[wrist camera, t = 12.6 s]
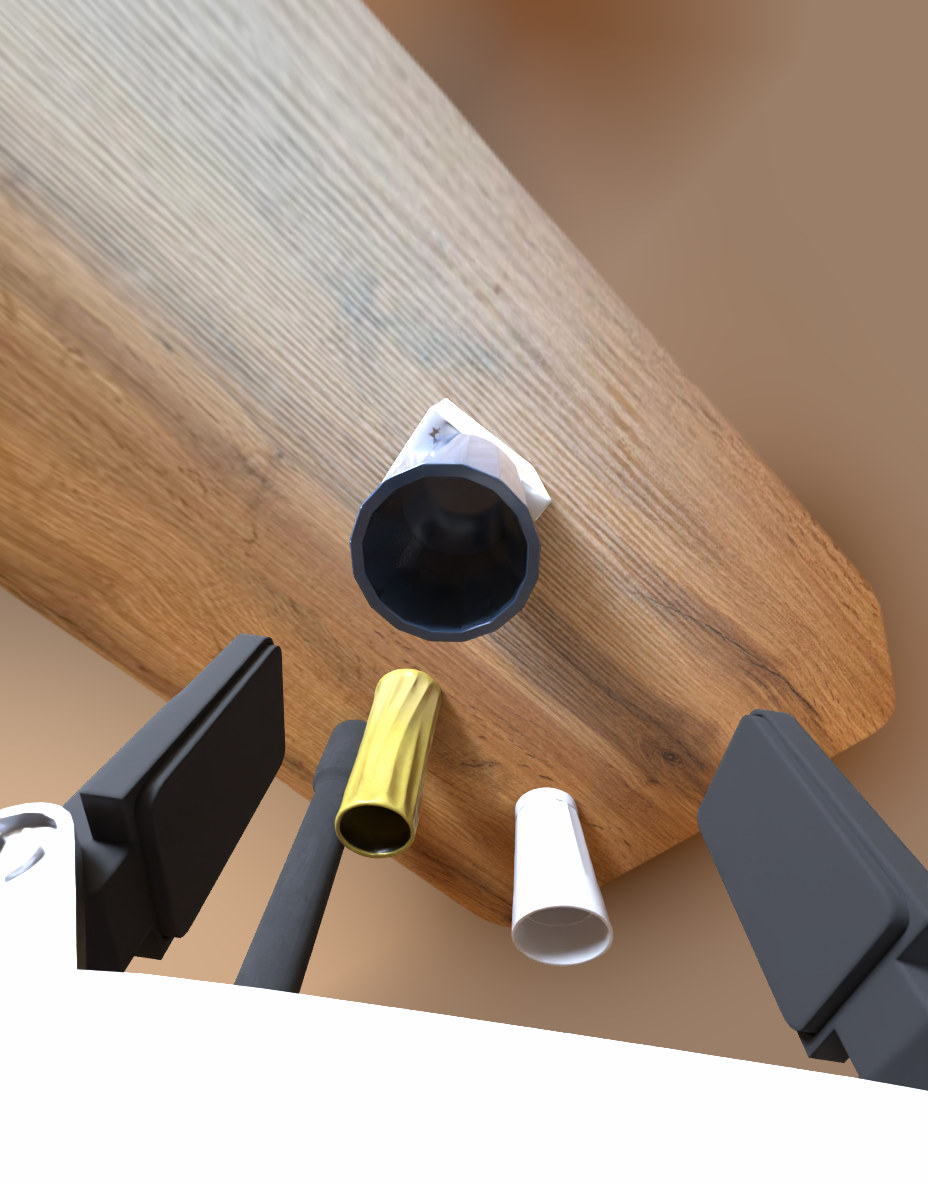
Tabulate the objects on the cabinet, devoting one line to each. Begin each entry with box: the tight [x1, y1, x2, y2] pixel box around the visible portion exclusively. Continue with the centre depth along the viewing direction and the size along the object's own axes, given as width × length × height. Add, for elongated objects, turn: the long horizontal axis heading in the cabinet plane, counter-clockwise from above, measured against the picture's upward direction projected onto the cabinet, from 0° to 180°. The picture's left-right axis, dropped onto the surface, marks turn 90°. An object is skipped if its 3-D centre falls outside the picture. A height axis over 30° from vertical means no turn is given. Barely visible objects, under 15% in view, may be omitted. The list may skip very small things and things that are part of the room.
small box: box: [383, 399, 551, 522], centre depth 30 cm, size 8×6×10 cm
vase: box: [335, 669, 442, 858], centre depth 37 cm, size 6×6×14 cm
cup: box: [512, 788, 613, 966], centre depth 43 cm, size 8×8×12 cm
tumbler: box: [350, 433, 541, 642], centre depth 21 cm, size 7×7×9 cm
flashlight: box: [234, 720, 367, 994], centre depth 35 cm, size 5×24×5 cm
